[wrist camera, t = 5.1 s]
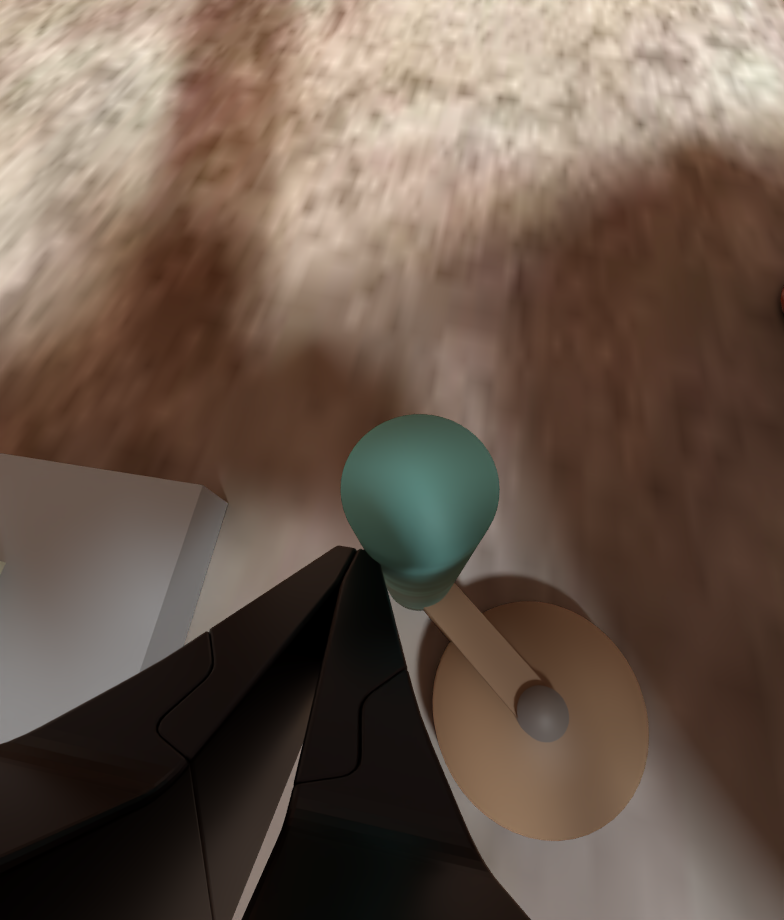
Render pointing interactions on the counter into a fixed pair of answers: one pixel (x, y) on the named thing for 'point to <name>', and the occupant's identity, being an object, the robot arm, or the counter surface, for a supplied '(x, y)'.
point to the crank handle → (496, 642)
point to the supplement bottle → (782, 299)
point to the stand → (92, 580)
